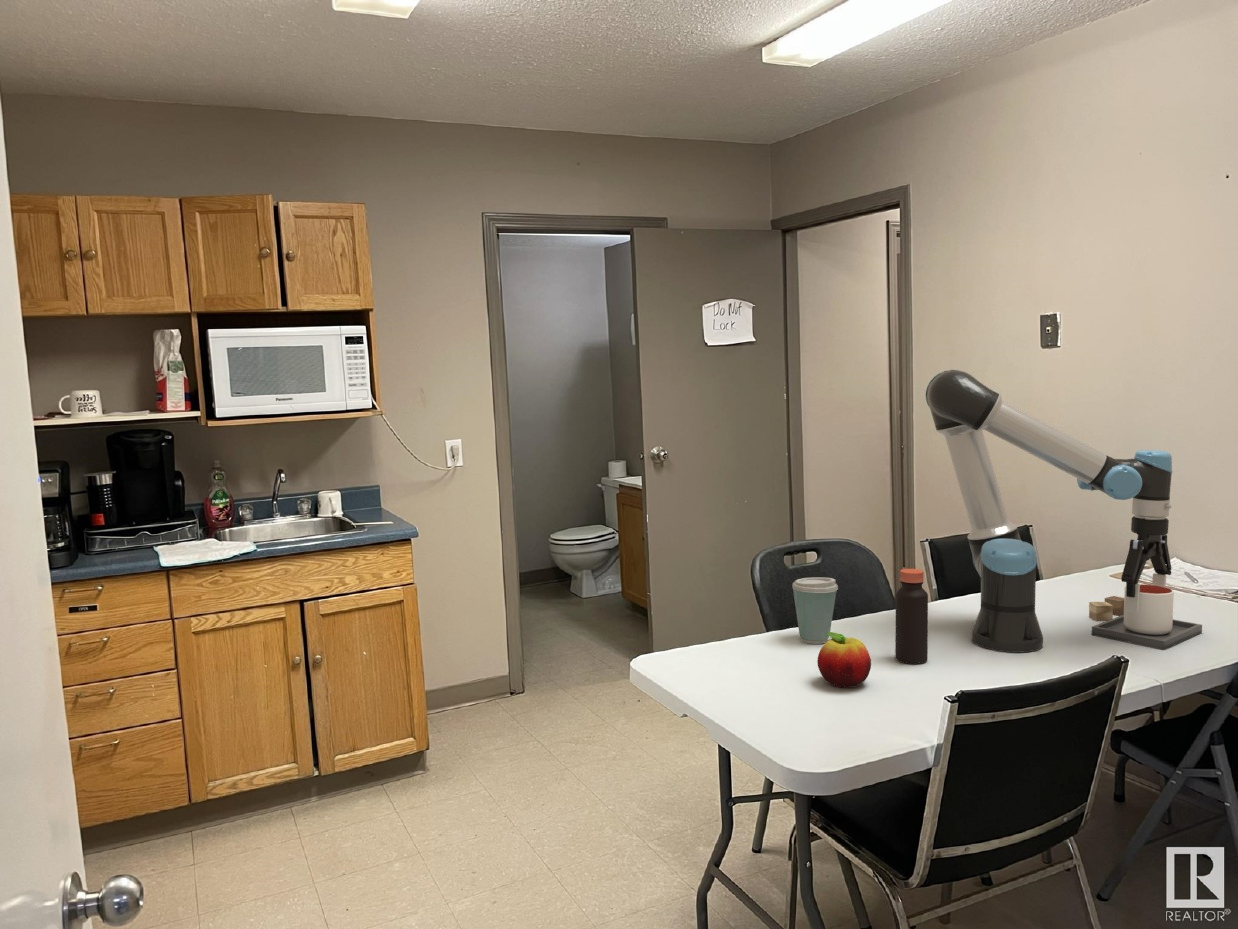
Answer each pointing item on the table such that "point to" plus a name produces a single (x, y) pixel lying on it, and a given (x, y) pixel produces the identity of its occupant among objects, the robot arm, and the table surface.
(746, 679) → the table surface
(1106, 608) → the maple block
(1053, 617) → the table surface
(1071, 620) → the table surface
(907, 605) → the bottle
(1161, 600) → the cup
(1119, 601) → the walnut block
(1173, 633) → the tray
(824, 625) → the disposable coffee cup
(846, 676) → the fruit
